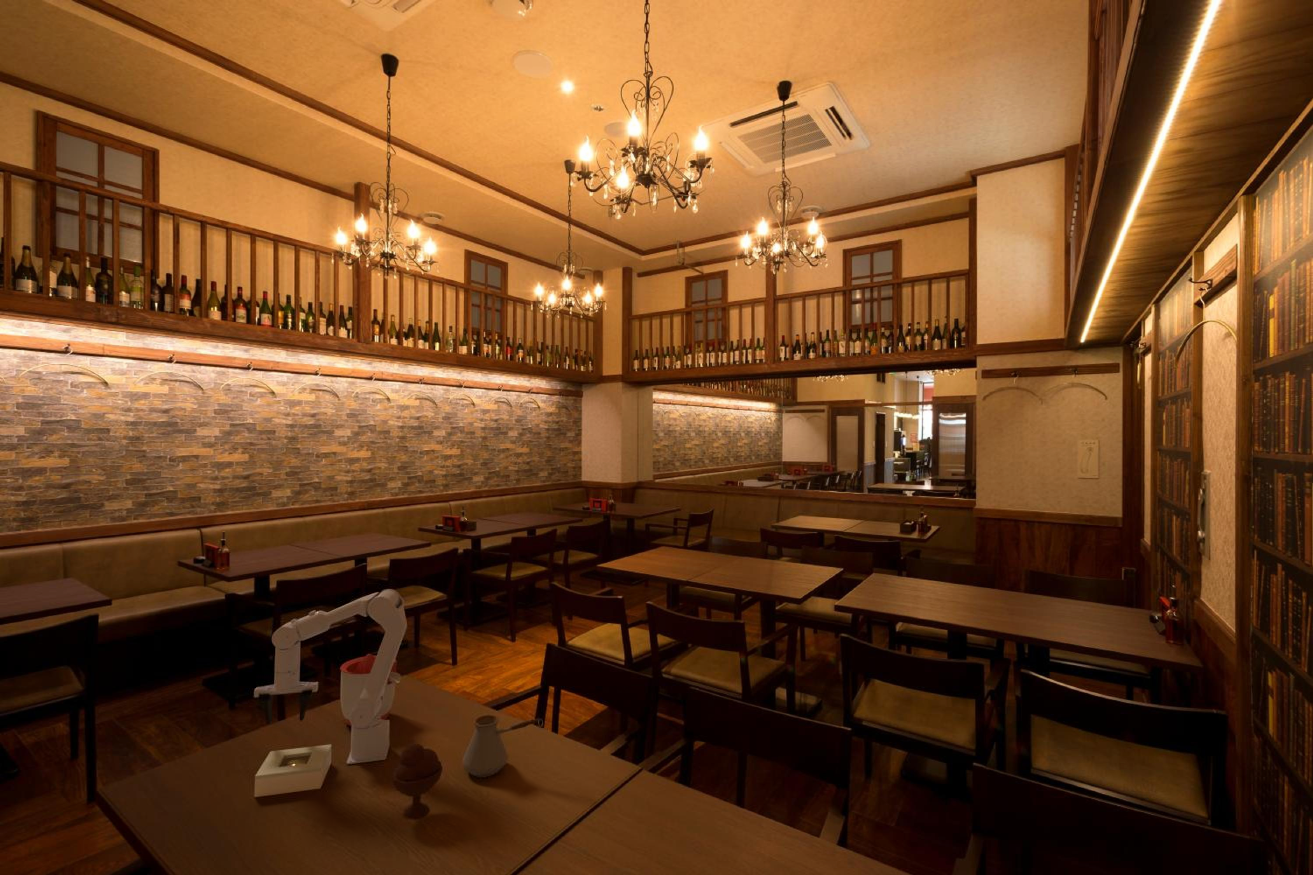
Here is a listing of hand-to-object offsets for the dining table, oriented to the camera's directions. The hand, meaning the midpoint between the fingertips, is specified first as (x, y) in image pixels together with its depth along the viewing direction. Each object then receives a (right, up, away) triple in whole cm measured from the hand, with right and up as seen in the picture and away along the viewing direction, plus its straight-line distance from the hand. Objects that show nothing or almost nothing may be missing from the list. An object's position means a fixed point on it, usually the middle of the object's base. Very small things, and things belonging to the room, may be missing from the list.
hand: (285, 720), depth 160 cm
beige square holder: (+8, -10, -9) cm, 16 cm away
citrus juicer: (+11, -11, +24) cm, 29 cm away
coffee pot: (+59, -12, -4) cm, 60 cm away
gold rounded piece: (+8, -10, -9) cm, 15 cm away
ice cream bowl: (+43, -11, -21) cm, 49 cm away
